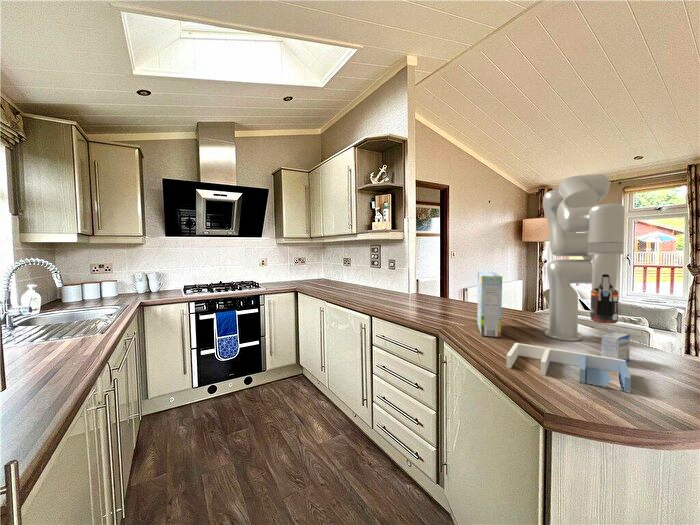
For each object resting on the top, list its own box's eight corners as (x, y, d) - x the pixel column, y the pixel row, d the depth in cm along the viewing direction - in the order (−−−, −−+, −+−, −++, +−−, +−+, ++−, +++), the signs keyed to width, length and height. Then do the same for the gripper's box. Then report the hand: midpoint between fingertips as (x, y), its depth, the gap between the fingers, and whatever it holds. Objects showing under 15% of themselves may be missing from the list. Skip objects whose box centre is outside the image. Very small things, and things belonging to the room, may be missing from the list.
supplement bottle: (623, 324, 81) (624, 283, 81) (598, 324, 83) (599, 283, 82) (609, 319, 87) (610, 280, 87) (585, 318, 89) (586, 280, 88)
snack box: (503, 338, 124) (503, 276, 122) (480, 336, 127) (480, 275, 125) (496, 324, 144) (496, 271, 143) (476, 323, 147) (476, 271, 146)
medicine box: (618, 365, 94) (618, 338, 93) (600, 361, 98) (601, 335, 97) (629, 360, 98) (630, 334, 97) (612, 356, 102) (613, 331, 101)
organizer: (515, 353, 106) (515, 342, 106) (625, 373, 89) (625, 360, 88) (506, 367, 95) (506, 355, 95) (630, 393, 77) (630, 378, 77)
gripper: (588, 248, 93) (587, 306, 94) (588, 250, 79) (587, 317, 80) (620, 248, 88) (619, 308, 89) (626, 250, 75) (625, 321, 76)
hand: (604, 312), depth 85 cm, fingers closed on supplement bottle, 6 cm apart
